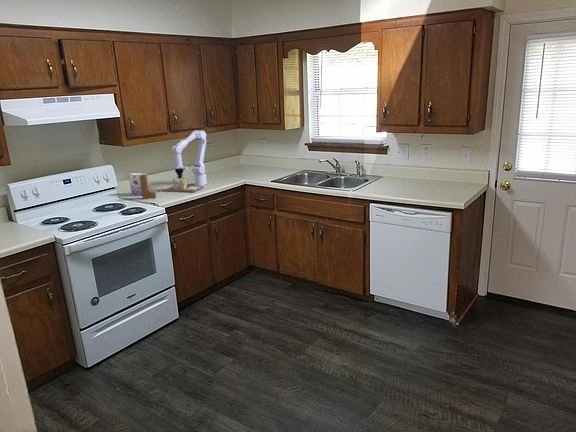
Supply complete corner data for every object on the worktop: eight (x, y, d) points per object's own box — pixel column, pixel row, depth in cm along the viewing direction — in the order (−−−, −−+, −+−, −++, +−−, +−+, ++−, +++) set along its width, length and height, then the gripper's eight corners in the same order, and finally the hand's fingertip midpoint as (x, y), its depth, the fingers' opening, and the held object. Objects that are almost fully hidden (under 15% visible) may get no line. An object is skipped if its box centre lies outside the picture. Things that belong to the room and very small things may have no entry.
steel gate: (182, 185, 364) (181, 175, 362) (184, 185, 364) (183, 175, 361) (174, 189, 354) (172, 178, 351) (176, 189, 353) (174, 178, 351)
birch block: (183, 189, 361) (181, 179, 358) (187, 189, 359) (186, 179, 357) (180, 190, 357) (178, 180, 355) (184, 190, 356) (183, 180, 353)
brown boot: (156, 196, 341) (152, 173, 336) (155, 198, 337) (151, 174, 332) (144, 197, 341) (140, 174, 335) (143, 199, 336) (139, 175, 331)
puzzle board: (175, 187, 369) (175, 185, 369) (203, 188, 359) (203, 186, 359) (164, 191, 357) (164, 189, 356) (193, 192, 347) (193, 190, 346)
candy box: (149, 194, 352) (146, 173, 347) (143, 195, 347) (140, 174, 342) (137, 192, 358) (134, 172, 354) (131, 194, 354) (128, 173, 349)
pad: (191, 187, 359) (191, 186, 359) (200, 187, 356) (200, 187, 356) (186, 189, 352) (185, 189, 352) (194, 189, 349) (194, 189, 349)
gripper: (167, 162, 351) (169, 179, 355) (183, 162, 346) (185, 179, 350) (172, 160, 357) (175, 177, 361) (188, 160, 352) (190, 177, 356)
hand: (180, 178), depth 356 cm, fingers closed
